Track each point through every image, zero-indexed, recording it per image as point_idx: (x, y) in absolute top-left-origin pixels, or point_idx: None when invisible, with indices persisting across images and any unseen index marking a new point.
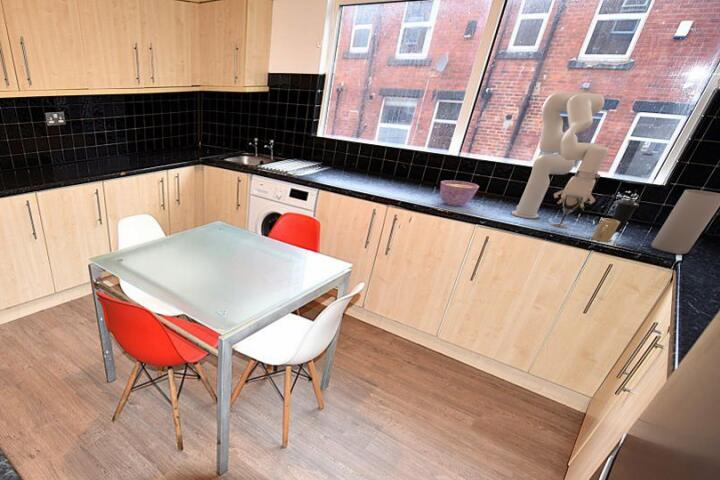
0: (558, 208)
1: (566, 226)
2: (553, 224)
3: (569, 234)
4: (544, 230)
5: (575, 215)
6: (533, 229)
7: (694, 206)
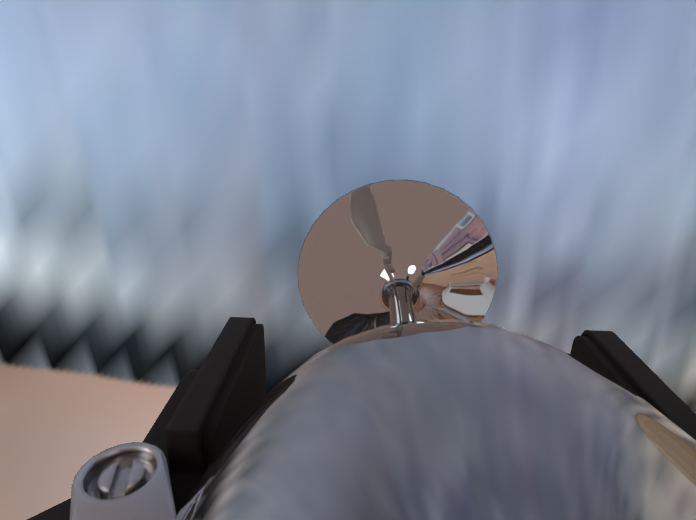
0: None
1: (479, 255)
2: (325, 294)
3: (522, 264)
4: (278, 287)
5: None
6: (181, 329)
7: None
